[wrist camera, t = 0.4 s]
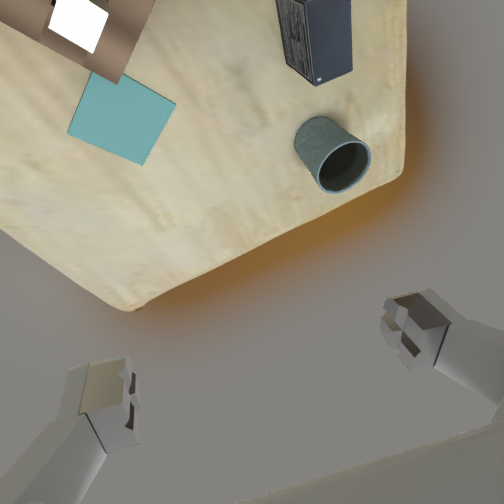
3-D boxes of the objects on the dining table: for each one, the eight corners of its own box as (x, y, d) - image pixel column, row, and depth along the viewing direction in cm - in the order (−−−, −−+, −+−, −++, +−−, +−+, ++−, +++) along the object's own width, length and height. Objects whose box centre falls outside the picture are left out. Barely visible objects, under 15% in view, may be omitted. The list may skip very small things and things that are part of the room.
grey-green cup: (286, 161, 68) (311, 196, 60) (296, 110, 61) (326, 142, 53) (330, 158, 71) (360, 191, 63) (345, 110, 64) (380, 140, 56)
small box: (322, 50, 55) (355, 72, 48) (285, 65, 55) (313, 90, 48) (315, -31, 47) (354, -19, 40) (272, -13, 47) (303, 2, 40)
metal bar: (70, -38, 39) (62, -17, 30) (105, -13, 42) (108, 14, 32) (58, -3, 41) (48, 27, 32) (93, 20, 43) (92, 53, 34)
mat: (97, 58, 46) (97, 59, 46) (175, 103, 54) (176, 105, 53) (67, 132, 52) (67, 133, 51) (142, 164, 59) (142, 165, 59)
